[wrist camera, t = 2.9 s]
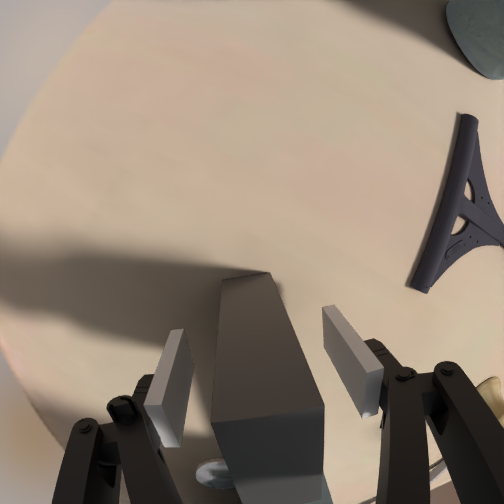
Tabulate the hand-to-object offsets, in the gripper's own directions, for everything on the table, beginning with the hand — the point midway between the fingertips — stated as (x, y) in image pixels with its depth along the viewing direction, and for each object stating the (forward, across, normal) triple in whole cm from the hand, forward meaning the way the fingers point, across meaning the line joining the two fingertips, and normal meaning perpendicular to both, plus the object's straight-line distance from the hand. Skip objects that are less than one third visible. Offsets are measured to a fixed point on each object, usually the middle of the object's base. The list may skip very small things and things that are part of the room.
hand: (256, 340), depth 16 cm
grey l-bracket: (+3, 0, -7) cm, 8 cm away
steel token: (+3, -6, -17) cm, 18 cm away
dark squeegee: (+4, +22, +3) cm, 22 cm away
